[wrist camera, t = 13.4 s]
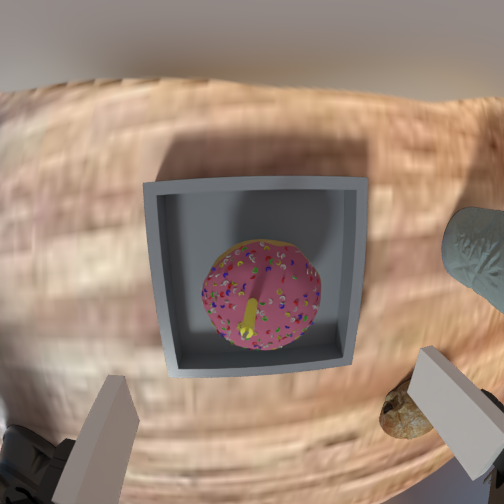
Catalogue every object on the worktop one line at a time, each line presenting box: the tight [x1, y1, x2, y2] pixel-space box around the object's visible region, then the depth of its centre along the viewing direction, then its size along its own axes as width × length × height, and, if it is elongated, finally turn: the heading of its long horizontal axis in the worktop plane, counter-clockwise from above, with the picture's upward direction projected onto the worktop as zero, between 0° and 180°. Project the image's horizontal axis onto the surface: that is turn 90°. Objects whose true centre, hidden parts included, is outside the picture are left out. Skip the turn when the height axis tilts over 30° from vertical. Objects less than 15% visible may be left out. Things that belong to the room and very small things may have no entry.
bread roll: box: [379, 379, 434, 439], centre depth 31 cm, size 10×10×8 cm
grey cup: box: [442, 207, 504, 314], centre depth 21 cm, size 10×10×12 cm
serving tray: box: [143, 176, 368, 378], centre depth 25 cm, size 17×17×4 cm
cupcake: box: [201, 239, 321, 350], centre depth 20 cm, size 9×8×12 cm
